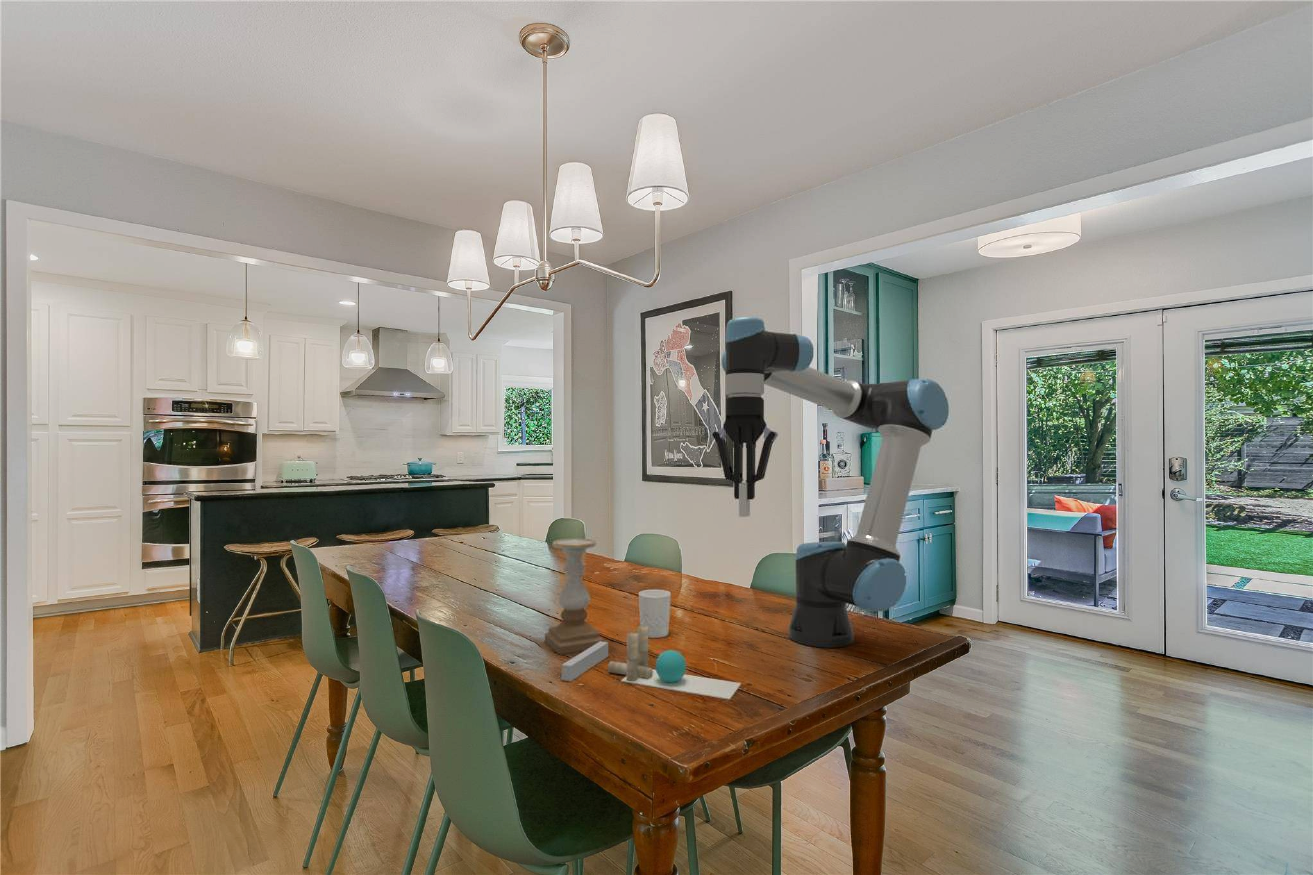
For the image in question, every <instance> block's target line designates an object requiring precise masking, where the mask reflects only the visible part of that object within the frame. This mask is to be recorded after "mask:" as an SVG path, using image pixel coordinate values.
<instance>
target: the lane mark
mask: <svg viewBox="0 0 1313 875" xmlns="http://www.w3.org/2000/svg"><path fill="white" fill-rule="evenodd" d="M652 670H653V674H652V677H651V678H649V679H646V678H640V677H638V680H636V681H628V680H627V679H626V676H625V677H623V678H622V679H621V680H620V682H623V683H629V684H633V685H634V684H635V685H639V686H640V685H641V686H646V687H653V688H657V689H665V690H669V691H670V690H671V691H676V692H682V693H688V694H694V695H700V696H706V697H712V698H718V699H723V700H731V699H732V697H733V696H734V695H735V693H736V692H737V690H739V688H740V686H741V685H742V683H741V682H735V681H729V680H723V679H715V678H710V677H705V676H704V677H703V676H698V675H690V674H686V673H685V674H684V676H683V677H682V678H681V679H680V680H679V681H677V682H673V683H669V682H665V681H663V680H662V679H661V678H660V677H659V676H658V674H657V672H656V669H653V668H652Z"/></svg>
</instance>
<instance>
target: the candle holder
mask: <svg viewBox="0 0 1313 875" xmlns="http://www.w3.org/2000/svg"><path fill="white" fill-rule="evenodd" d="M596 546H597V541H596V540H594V539H592V538H590V539H589V538H561V539H555V540H554V541H552V547H553V548H556V549H561V550H562V553H563V554H564V555H565V558H566V563H565V565H564V567H563V569H562V571H563V572H564V574H565V576H566V582H565V584H564V586H563V588H562V589H561V590H560V593H559V594H558V601H557V602H558V605H559V606H560V607H561V608H563V610H562V611H561V613H560V618H561V620H562V622H560V623H559V624H558V625H556V626H550V627H549V628H548V631H547V632H546V633H544V642H545V645H547V646H548V645H549V646H548V647H549V648H550V649H551V650H552V651H554V652H555V653H556V654H558V655H560V656H561V655H562V656H563V655H569V654H574V653H582V652H583V651H585V650H587V649H588V648H590V647H592V646H593V645H595V644H597V643H598V642H600V641H601V642H605V640H604V639H603V637H602V636H601V635H600V633H599V631H598V630H597V629H596V628H594V626H592V625H591V624H590V623H588V622H587V621H585V620H586V619H587V618H588V613H587V610H586V609H585V608H586V607H587V606H588V605H589V604H590V602H591V597H590V594H589V591H588V590H587V588H586V586H585V585H584V582H583V580H582V577H583V574H584V572H585V571H586V569H587V568H586V567H585V565H584V564H583V557H584V555H585V554H586V552H587V549H591V548H594V547H596Z"/></svg>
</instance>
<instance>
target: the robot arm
mask: <svg viewBox="0 0 1313 875" xmlns="http://www.w3.org/2000/svg"><path fill="white" fill-rule="evenodd" d="M724 343H725V350H724V352H723V353H722V355H721V356H722V357H721V366H722V369H723V372H724V373H725V395H726V396H728V397H727V398H725V421H724V422H723V424H722V428H720V429H719V430H717V431H713V432H712V437H713V440H714V441H715V442H716V444H717V448H718V452H719V458H720V462H721V466H722V472H723V475H724V478H725V479H726V480H730V481H731V482H733V497H734V500H738V517H740V518H747V517H749V516H751V515H750V513H751V512H750V511H751V502H750V501H751V500H754V499H755V497H756V495H755V494H756V493H755V492H756V491H755V490H756V488H755V487H756V482H759V481H761V480H764V479H765V476H766V472H767V469H768V468H767V467H768V464H769V459H770V456H771V451H772V447H773V443H774V442H775V440H776V439H777V437H778V436H779V435H778V434H779V433H778V432H776V431H774V430H771V429H770V428H768V427H767V423H766V421H765V399H764V398H763V397H762V396H763V395H764V394H765V385H766V386H769V387H771V388H774V389H777V390H779V391H782V392H784V393H786V394H789V395H791V396H794V397H797V398H800V399H802V400H805V401H808V402H810V403H813V404H815V405H818V406H821V407H822V408H826V409H828V410H831V411H832V413H833V415H835V416H836V417H838V418H841V419H844V420H846V421H848V422H851V423H853V424H856V425H859V426H862V427H865V428H868V429H873V430H877V432H878V433H879V435H880V436H881V438H882V439H881V442H880V446H879V450H878V453H877V457H876V460H875V464H874V468H873V472H872V476H871V480H870V483H869V487H868V490H867V494H866V498H865V501H864V504H863V509H862V512H861V516H860V519H859V524H858V527H857V531H856V534H855V535H854V536H853V537H850V538H849V539H847V542H846V543H845V542H843V541H817V542H806V543H805V542H804V543H801V544H799V545H798V546H797V547H796V556H795V588H796V589H795V596H796V597H795V598H796V599H795V602H796V603H795V607H794V610H793V613H792V616H791V619H790V622H789V625H788V637H789V639H790V640H792V641H794V642H796V643H799V644H800V645H801V644H802V645H805V646H809V647H814V648H815V647H816V648H830V649H831V648H842V647H847V646H851V644H853V643H854V641H855V640H854V639H855V638H854V636H855V635H854V629H853V626H852V623H851V620H850V616H849V614H848V610H847V604H848V605H852V606H854V607H858V608H859V609H862V610H865V611H873V612H886V611H888V610H889V609H891V608H892V607H894V606H895V605H897V604H898V602H899V601H900V600H901V599H902V596H903V595H904V592H905V590H906V587H907V586H906V585H907V575H905V574H906V571H905V567H904V566H903V565H902V564H901V562H900V559H901V554H900V552H899V551H898V548H897V547H896V545H897V541H898V537H899V534H900V530H901V525H902V522H903V518H904V514H905V510H906V508H907V507H906V506H907V502H908V499H909V494H910V490H911V487H912V482H913V479H914V475H915V472H916V468H917V464H918V459H919V457H920V456H919V455H920V453H921V448H922V447H923V446H924V445H927V444H929V442H931V438H932V433H933V431H936V430H938V429H940V428H942V427H943V426H944V425H945V424H946V423H947V421H948V418H949V410H950V407H949V401H948V398H947V396H946V393H945V391H944V389H943V388H942V386H941V385H940V384H939V383H937V381H935V380H932V379H928V378H920V379H919V378H912V379H910V380H908V379H907V380H902V381H901V380H900V381H892V382H891V381H890V382H881V383H861V382H859V381H858V382H857V381H855V380H852V379H850V380H845V381H844V380H842V379H839V378H837V377H835V376H833V375H830V374H827V373H825V372H823V371H820V370H818V369H815V368H813V367H810V366H811V364H812V362H813V359H814V351H815V349H814V345H813V342H812V341H811V339H809V338H808V337H807V336H804V335H800V334H797V333H783V332H774V331H768V330H766V327H765V321H764V320H763V319H762V318H759V317H755V316H741V317H735V318H732V319H729V321H728V322H727V324H726V330H725V340H724ZM727 435H728V437H729V438H730V440H731V442H732V448H733V465H732V462H731V457H730V453H729V448H728V444H727V441H726V439H727ZM761 436H763V439H764V441H763V444H762V448H761V452H760V456H759V461H758V465H757V469H756V448H757V442H758V440H759V439H760V438H761ZM744 444H745V448H746V450H745V451H746V452H745V453H746V456H745V458H746V461H745V462H746V464H745V465H746V468H745V469H746V470H745V471H746V472H745V473H746V476H745V477H746V479H744V477H743V475H744V474H743V472H744V469H743V468H744V466H743V465H744V459H743V458H744V450H743V449H744ZM744 480H745V482H744Z"/></svg>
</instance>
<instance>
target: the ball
mask: <svg viewBox="0 0 1313 875" xmlns="http://www.w3.org/2000/svg"><path fill="white" fill-rule="evenodd" d="M655 670H656V672H657V674H658V676H659V677H660V678H661V679H662V680H663V681H665V682H669V683H673V682H677V681H679V680H680V679H681V678H682V677H683V676H684V674H685V675H686V670H687V662H686V659H685V657H684V656H683V655H682V654H681V653H680V652H679V651H677V650H673V649H669V650H667V649H666V650H665V651H663V652H661V653H660V654H659V655H658V656H657V659H656V662H655Z"/></svg>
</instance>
